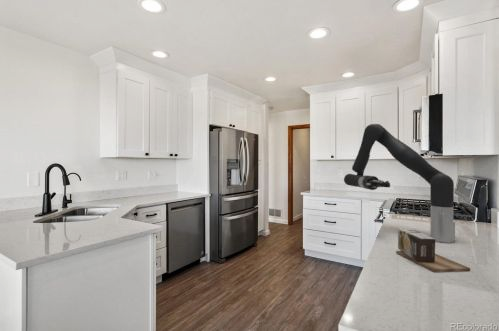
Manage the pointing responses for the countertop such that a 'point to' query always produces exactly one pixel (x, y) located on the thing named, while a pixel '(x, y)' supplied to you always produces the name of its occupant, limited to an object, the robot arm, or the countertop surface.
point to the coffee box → (416, 245)
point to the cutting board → (438, 264)
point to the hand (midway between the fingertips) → (388, 185)
